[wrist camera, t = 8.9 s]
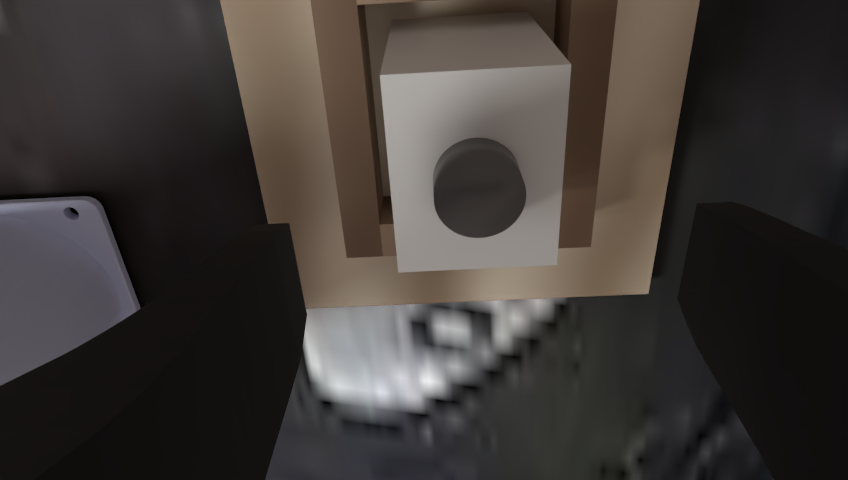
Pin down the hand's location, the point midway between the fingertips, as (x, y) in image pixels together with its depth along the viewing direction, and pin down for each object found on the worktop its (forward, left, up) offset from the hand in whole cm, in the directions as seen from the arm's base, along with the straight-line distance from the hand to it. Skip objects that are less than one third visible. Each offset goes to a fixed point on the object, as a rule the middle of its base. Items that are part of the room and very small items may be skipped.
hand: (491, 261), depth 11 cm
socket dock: (0, 0, -10) cm, 10 cm away
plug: (0, 0, -10) cm, 10 cm away
